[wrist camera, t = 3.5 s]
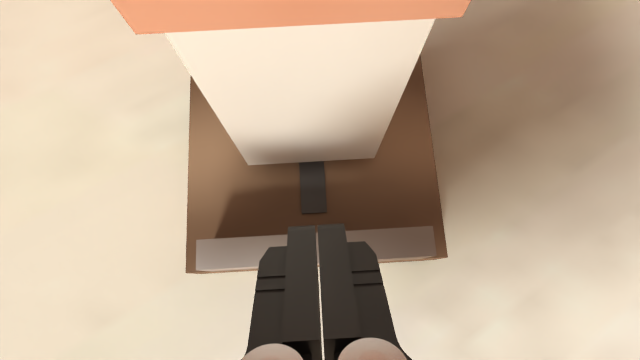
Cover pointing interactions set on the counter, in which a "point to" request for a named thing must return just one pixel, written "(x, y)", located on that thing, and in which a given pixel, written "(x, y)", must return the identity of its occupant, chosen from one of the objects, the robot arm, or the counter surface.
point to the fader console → (313, 193)
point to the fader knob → (297, 67)
